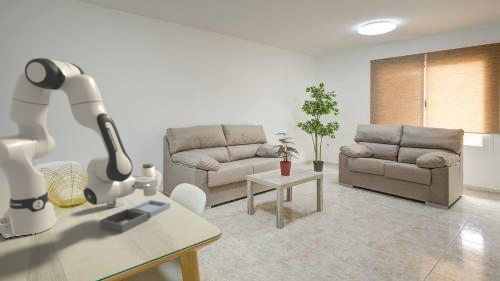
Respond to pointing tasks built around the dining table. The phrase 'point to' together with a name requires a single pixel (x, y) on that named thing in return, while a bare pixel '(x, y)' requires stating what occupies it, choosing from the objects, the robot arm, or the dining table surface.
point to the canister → (149, 171)
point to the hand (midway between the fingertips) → (150, 177)
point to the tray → (152, 207)
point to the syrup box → (115, 202)
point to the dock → (138, 219)
